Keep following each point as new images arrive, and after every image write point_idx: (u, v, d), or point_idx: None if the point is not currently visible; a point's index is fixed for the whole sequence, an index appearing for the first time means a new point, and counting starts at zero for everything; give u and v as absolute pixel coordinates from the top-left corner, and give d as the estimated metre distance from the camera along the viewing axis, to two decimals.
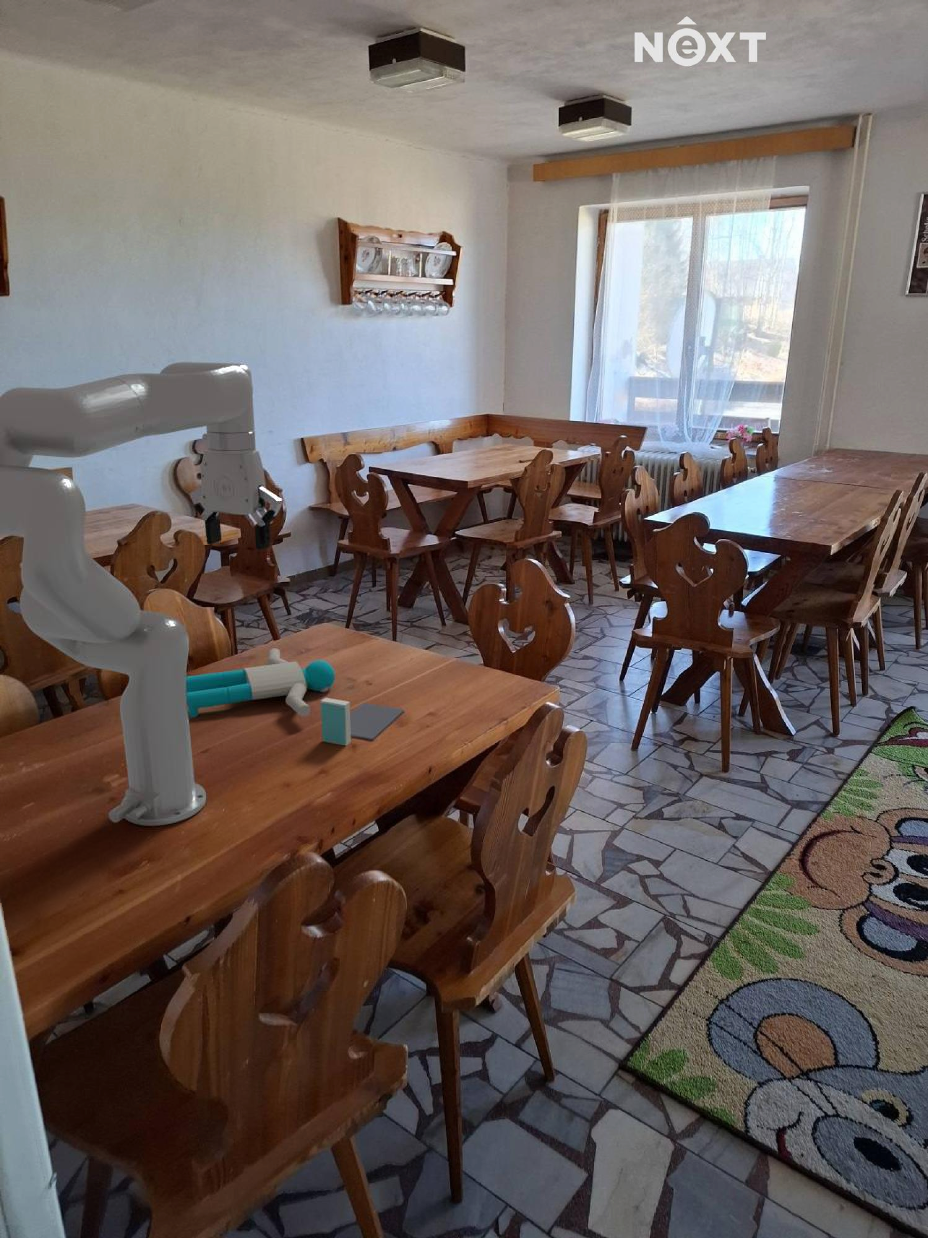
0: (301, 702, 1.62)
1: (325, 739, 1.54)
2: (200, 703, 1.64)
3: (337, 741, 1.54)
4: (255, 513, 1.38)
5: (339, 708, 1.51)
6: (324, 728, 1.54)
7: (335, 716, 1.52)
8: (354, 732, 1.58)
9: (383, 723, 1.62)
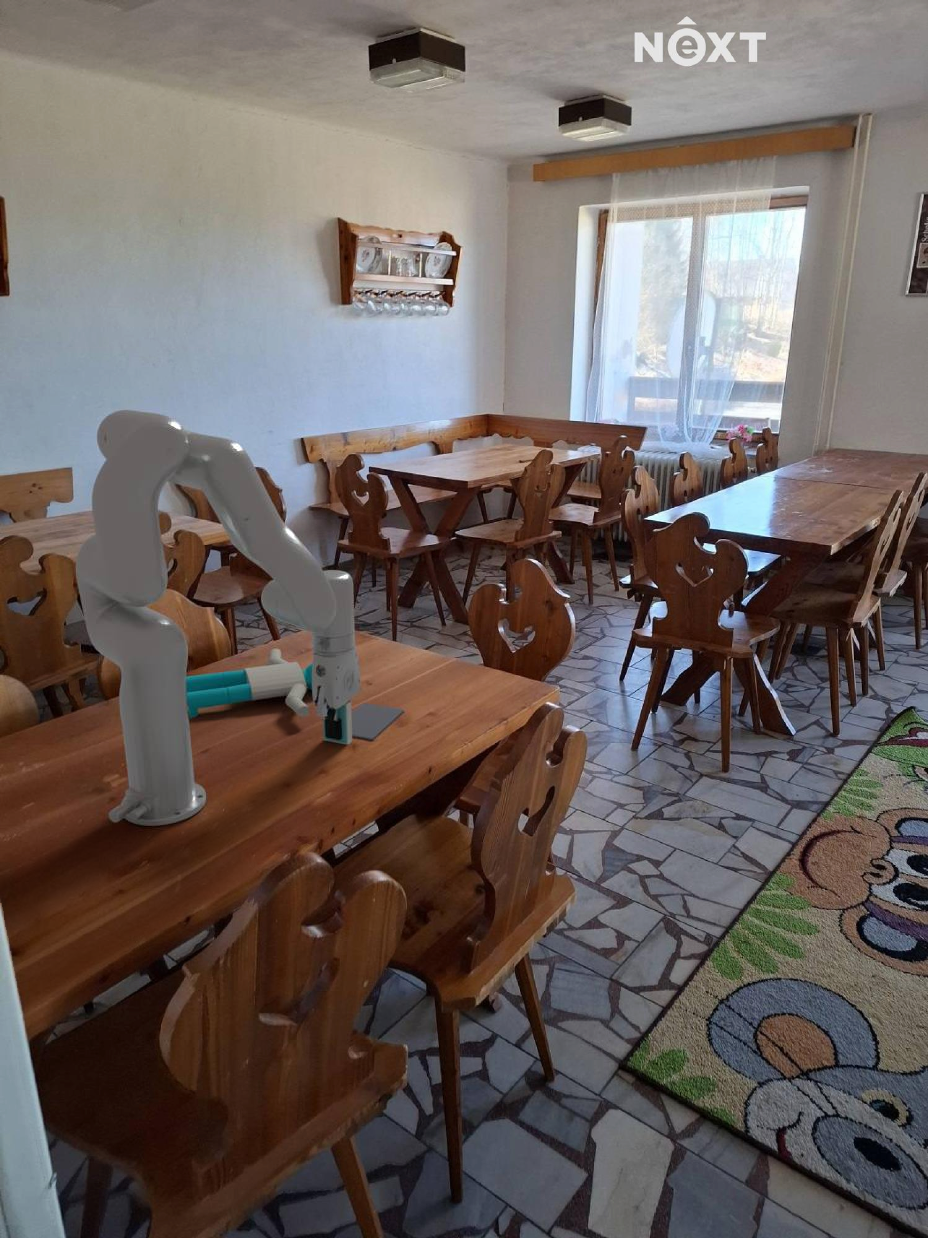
0: (300, 703, 1.61)
1: (326, 738, 1.55)
2: (200, 703, 1.64)
3: (338, 740, 1.54)
4: None
5: (340, 707, 1.52)
6: None
7: None
8: (354, 732, 1.58)
9: (383, 723, 1.62)
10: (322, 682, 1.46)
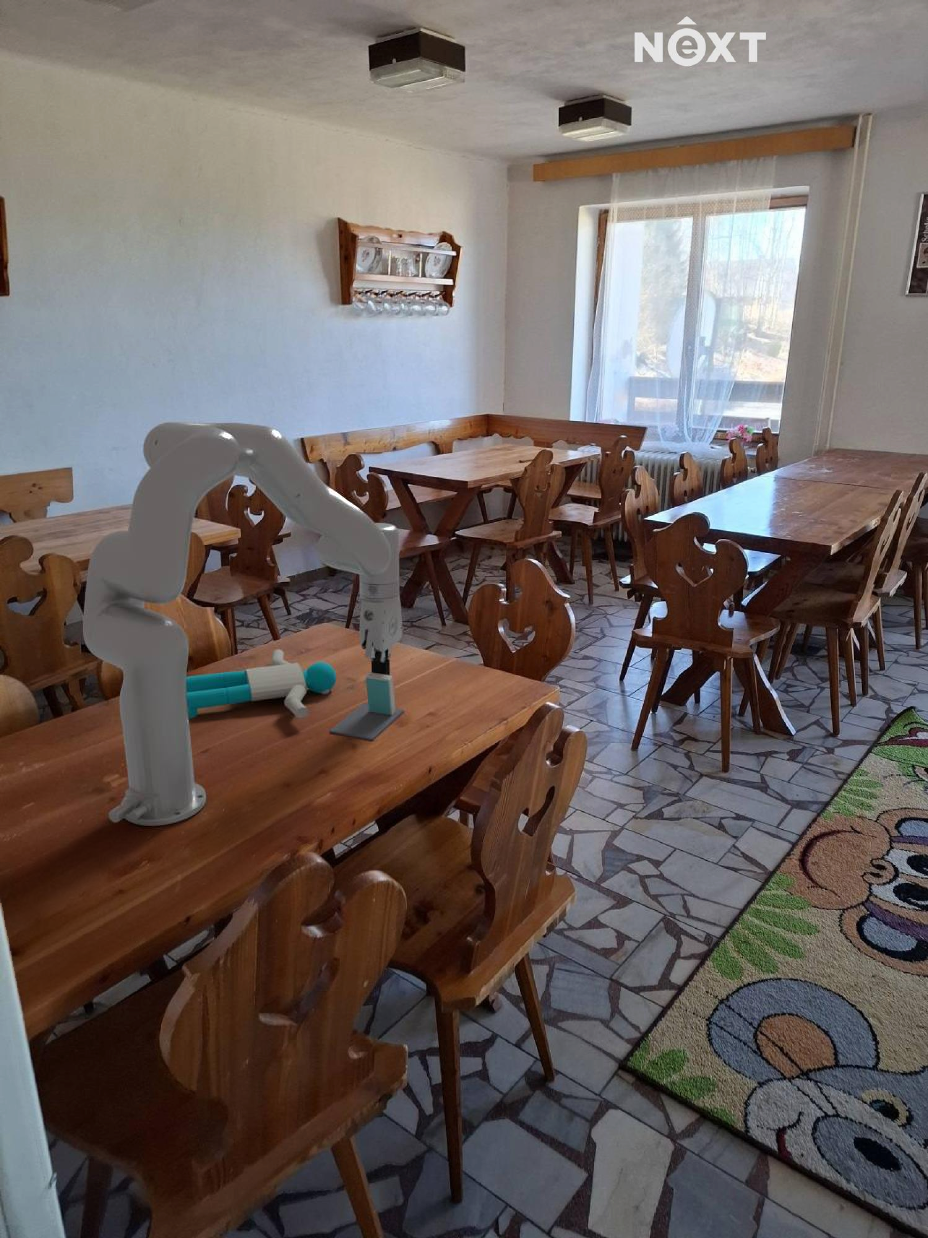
0: (299, 704, 1.61)
1: (372, 710, 1.66)
2: (199, 703, 1.64)
3: (383, 711, 1.65)
4: (390, 647, 1.66)
5: (383, 683, 1.62)
6: (370, 700, 1.65)
7: (380, 690, 1.63)
8: (354, 732, 1.58)
9: (383, 723, 1.62)
10: (370, 626, 1.58)
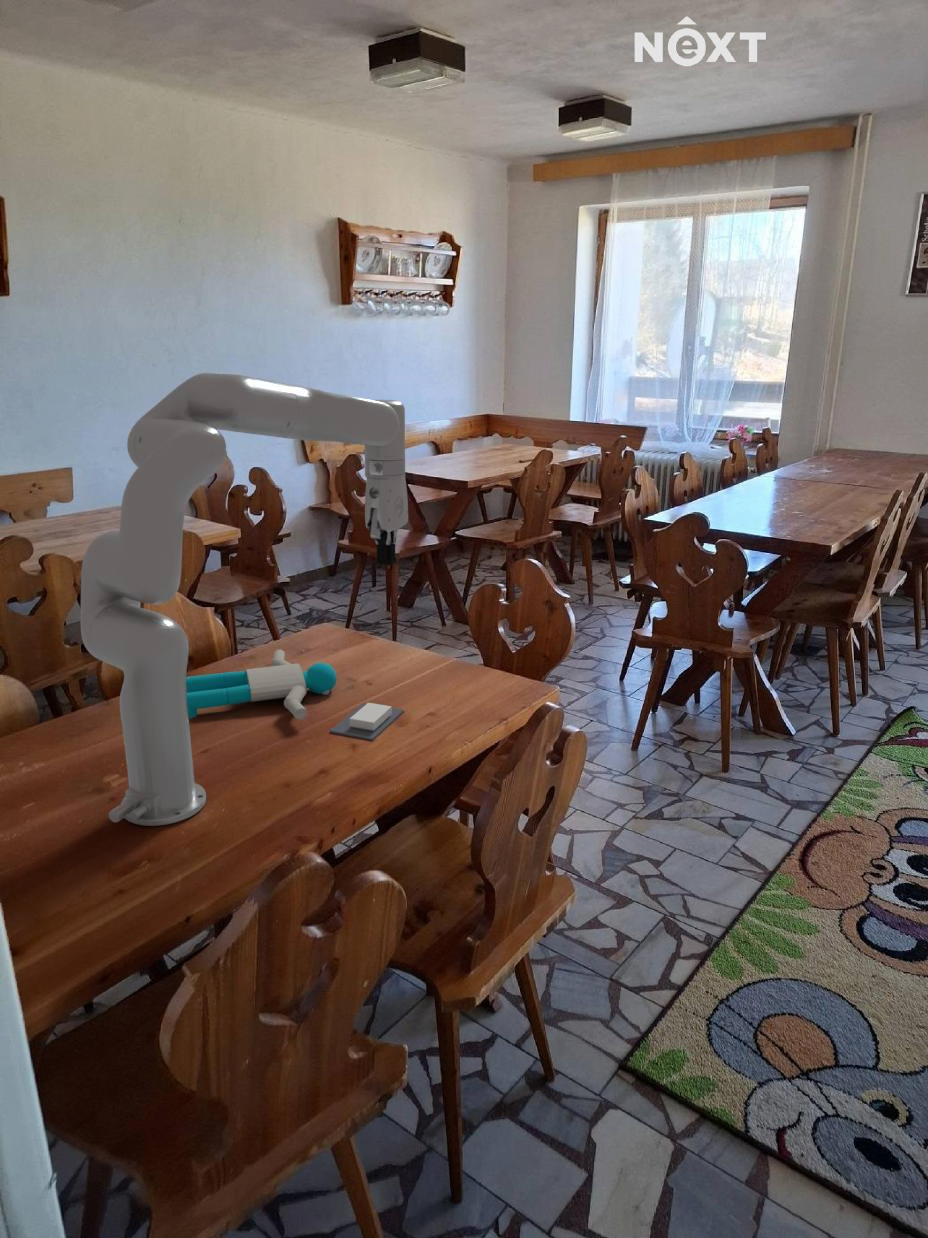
0: (298, 705, 1.60)
1: None
2: (199, 704, 1.64)
3: None
4: (395, 531, 1.63)
5: (370, 730, 1.59)
6: None
7: None
8: (354, 732, 1.58)
9: (383, 723, 1.62)
10: (375, 504, 1.55)
